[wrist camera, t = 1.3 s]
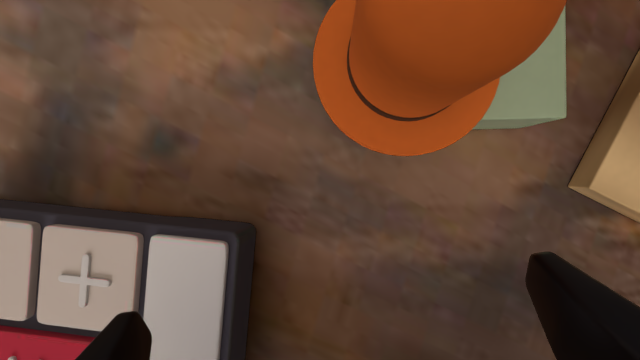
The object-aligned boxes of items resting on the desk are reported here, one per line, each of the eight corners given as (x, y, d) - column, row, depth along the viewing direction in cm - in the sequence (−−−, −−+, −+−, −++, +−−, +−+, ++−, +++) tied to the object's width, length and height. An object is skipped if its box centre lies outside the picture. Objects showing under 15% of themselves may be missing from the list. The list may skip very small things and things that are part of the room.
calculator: (-74, 202, 20) (235, 234, 19) (2, 197, 24) (257, 223, 23) (-88, 429, 20) (214, 474, 19) (-11, 384, 24) (240, 419, 23)
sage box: (520, 128, 23) (567, 117, 18) (354, 132, 23) (360, 123, 18) (519, 35, 23) (566, 1, 18) (352, 40, 23) (357, 8, 18)
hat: (497, 154, 18) (710, 133, 8) (315, 158, 19) (294, 143, 8) (495, -31, 18) (709, -295, 8) (311, -24, 18) (284, -272, 8)
